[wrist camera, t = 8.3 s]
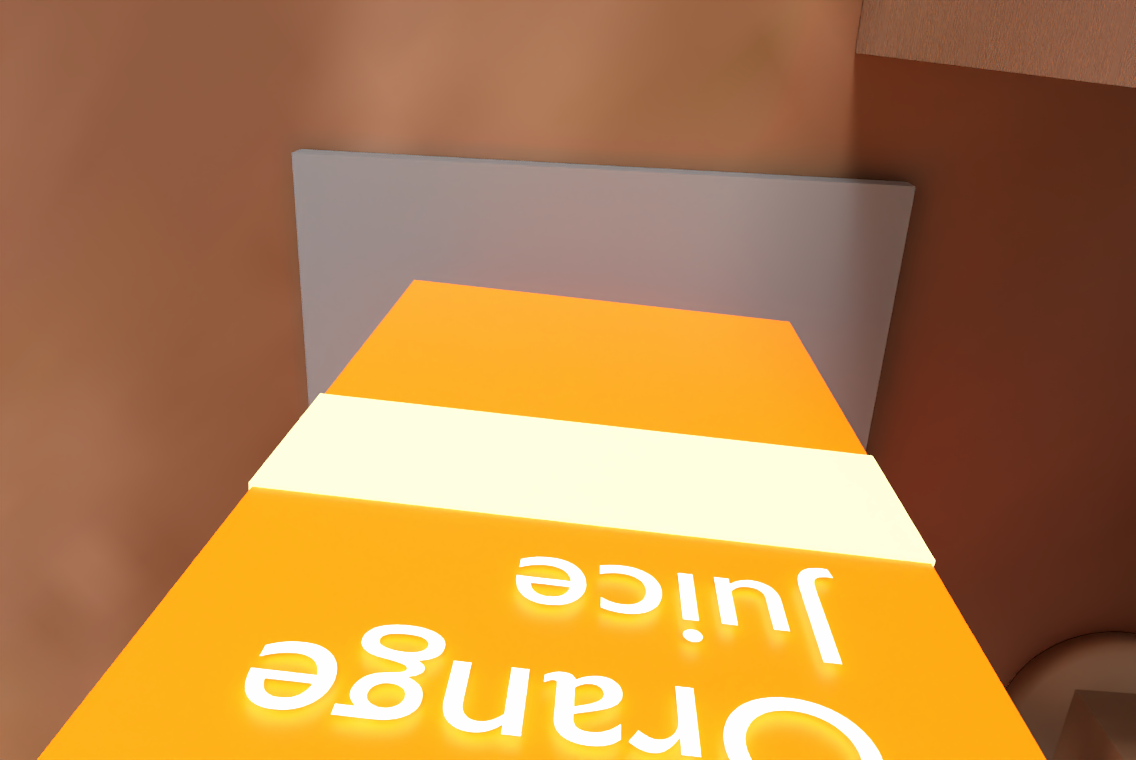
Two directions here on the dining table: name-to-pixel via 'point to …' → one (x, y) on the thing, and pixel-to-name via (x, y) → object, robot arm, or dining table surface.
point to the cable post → (1081, 698)
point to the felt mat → (603, 248)
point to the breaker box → (1008, 36)
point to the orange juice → (559, 564)
